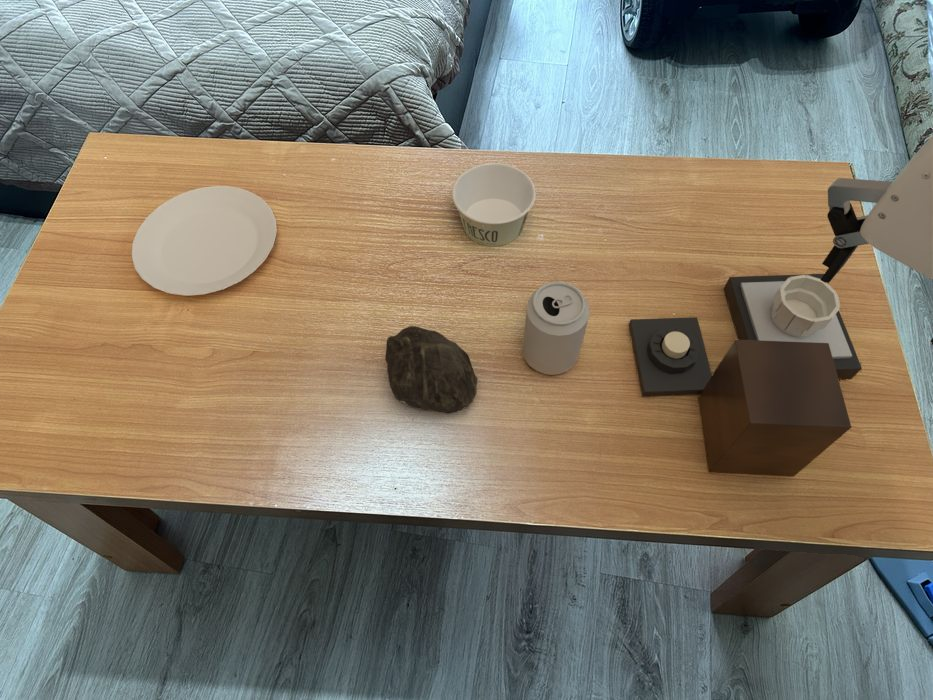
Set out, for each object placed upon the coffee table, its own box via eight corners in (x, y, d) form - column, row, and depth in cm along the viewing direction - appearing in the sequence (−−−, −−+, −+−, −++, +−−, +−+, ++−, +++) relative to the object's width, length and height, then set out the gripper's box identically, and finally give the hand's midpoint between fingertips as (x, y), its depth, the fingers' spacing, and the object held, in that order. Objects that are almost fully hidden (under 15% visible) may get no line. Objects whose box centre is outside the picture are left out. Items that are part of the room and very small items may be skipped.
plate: (177, 329, 89) (171, 320, 87) (115, 240, 98) (108, 230, 96) (306, 254, 96) (303, 244, 94) (237, 176, 105) (233, 165, 103)
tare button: (689, 358, 82) (692, 352, 81) (664, 359, 82) (667, 353, 81) (684, 337, 84) (687, 330, 83) (659, 338, 84) (662, 331, 83)
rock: (476, 425, 80) (464, 378, 72) (388, 423, 82) (367, 377, 74) (484, 360, 86) (474, 310, 78) (402, 359, 88) (384, 310, 80)
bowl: (833, 315, 85) (850, 295, 81) (805, 351, 82) (821, 331, 78) (784, 286, 87) (798, 265, 83) (756, 319, 85) (769, 299, 81)
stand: (778, 401, 82) (828, 342, 70) (794, 476, 77) (851, 427, 65) (697, 397, 83) (734, 339, 71) (708, 472, 77) (750, 423, 65)
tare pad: (712, 394, 83) (720, 383, 80) (642, 397, 83) (647, 385, 80) (694, 322, 88) (700, 310, 86) (628, 324, 88) (632, 312, 86)
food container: (539, 201, 101) (543, 169, 95) (523, 260, 95) (526, 229, 89) (464, 188, 102) (463, 156, 97) (444, 245, 96) (442, 214, 91)
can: (513, 338, 88) (518, 284, 77) (565, 323, 89) (577, 268, 78) (533, 384, 84) (540, 334, 74) (587, 369, 85) (602, 317, 75)
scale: (851, 378, 84) (864, 366, 81) (750, 382, 84) (760, 369, 81) (815, 285, 91) (826, 270, 88) (723, 288, 91) (731, 274, 88)
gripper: (1198, 176, 39) (1005, 334, 54) (915, 60, 46) (812, 228, 60) (1161, 244, 36) (968, 392, 51) (866, 110, 43) (770, 274, 58)
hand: (884, 303), depth 56 cm, fingers open, 9 cm apart
